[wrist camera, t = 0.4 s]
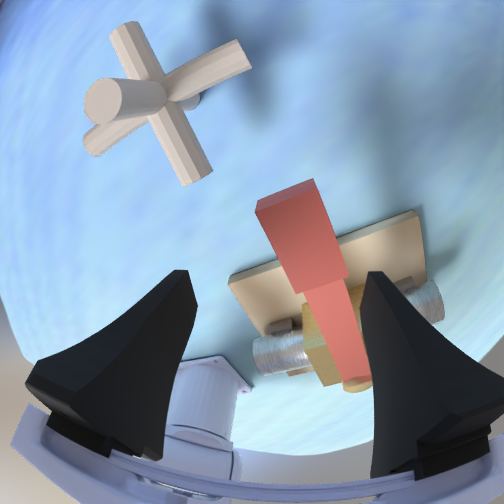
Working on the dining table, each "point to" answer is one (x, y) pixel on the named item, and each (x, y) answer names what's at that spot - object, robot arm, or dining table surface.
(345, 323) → the lever
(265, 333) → the mounting board
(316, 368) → the ball valve
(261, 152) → the dining table surface
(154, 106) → the pipe connector
